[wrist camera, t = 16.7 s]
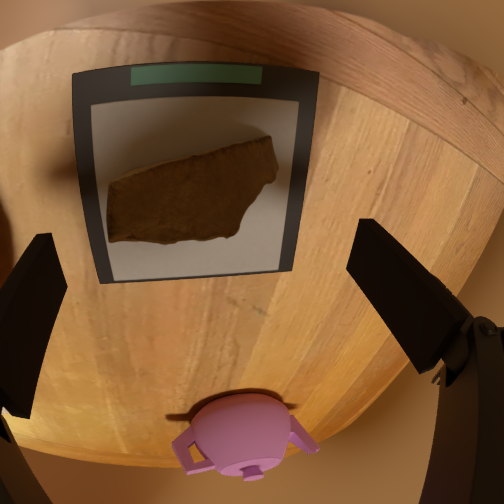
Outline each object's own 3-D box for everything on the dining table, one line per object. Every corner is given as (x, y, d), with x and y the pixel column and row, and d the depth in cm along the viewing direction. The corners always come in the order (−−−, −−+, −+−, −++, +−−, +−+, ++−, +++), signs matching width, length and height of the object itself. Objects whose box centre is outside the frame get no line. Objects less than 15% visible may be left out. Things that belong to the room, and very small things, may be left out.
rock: (312, 101, 15) (130, 62, 11) (356, 242, 12) (100, 228, 8) (239, 194, 24) (115, 184, 20) (252, 298, 22) (109, 300, 17)
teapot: (171, 434, 44) (179, 495, 34) (165, 391, 36) (173, 473, 26) (289, 423, 50) (308, 476, 40) (315, 378, 42) (344, 445, 32)
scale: (85, 73, 16) (68, 73, 13) (303, 72, 19) (324, 72, 16) (105, 263, 24) (98, 289, 21) (281, 252, 28) (294, 275, 25)
